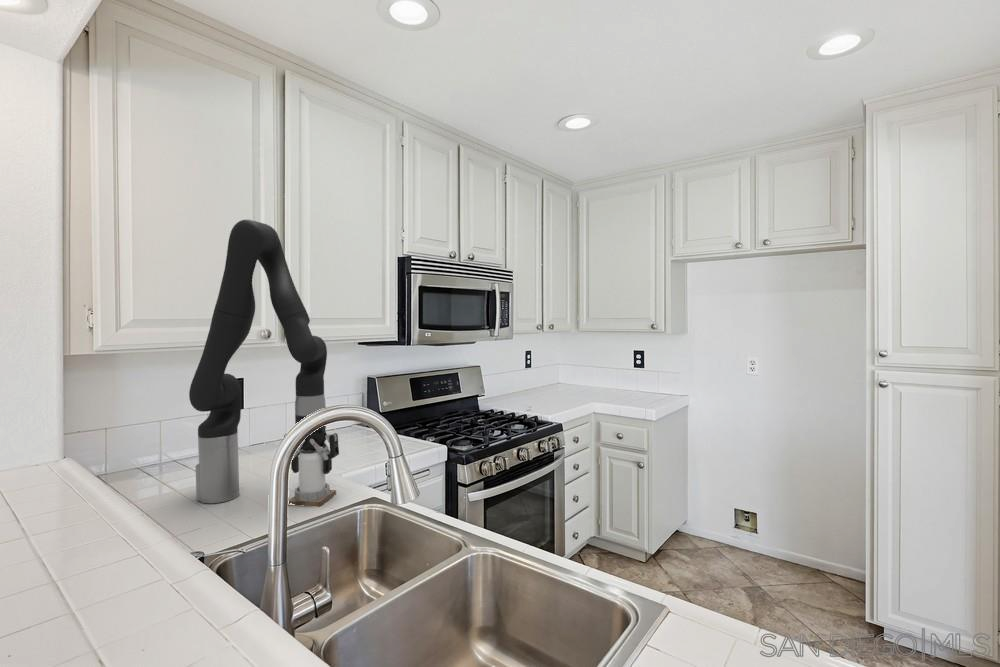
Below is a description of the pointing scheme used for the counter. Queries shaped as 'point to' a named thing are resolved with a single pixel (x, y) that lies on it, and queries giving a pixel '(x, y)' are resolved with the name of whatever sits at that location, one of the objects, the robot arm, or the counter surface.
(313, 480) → the can
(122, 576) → the counter surface
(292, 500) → the board
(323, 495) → the collar
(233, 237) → the robot arm
